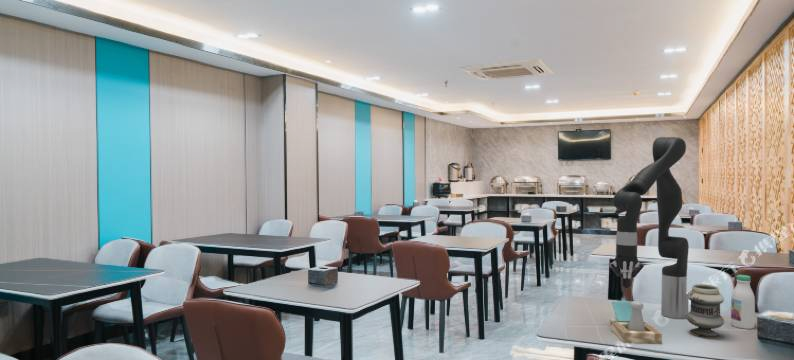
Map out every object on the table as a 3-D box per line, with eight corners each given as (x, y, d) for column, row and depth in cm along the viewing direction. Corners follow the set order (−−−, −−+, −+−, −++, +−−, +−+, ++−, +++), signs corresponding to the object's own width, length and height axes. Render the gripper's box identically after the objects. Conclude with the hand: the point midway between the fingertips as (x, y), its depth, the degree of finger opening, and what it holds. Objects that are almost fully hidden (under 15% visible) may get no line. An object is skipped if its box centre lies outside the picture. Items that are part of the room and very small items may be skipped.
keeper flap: (632, 303, 205) (633, 301, 204) (639, 323, 198) (639, 321, 198) (611, 302, 206) (612, 301, 205) (617, 322, 199) (618, 320, 198)
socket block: (638, 324, 206) (638, 316, 206) (661, 343, 184) (662, 333, 184) (604, 323, 207) (604, 315, 207) (623, 342, 185) (624, 332, 185)
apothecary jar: (684, 335, 193) (685, 287, 193) (688, 327, 203) (689, 281, 202) (722, 341, 186) (723, 291, 186) (724, 333, 196) (725, 285, 196)
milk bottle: (752, 324, 206) (753, 274, 206) (756, 330, 199) (757, 278, 199) (729, 322, 209) (730, 273, 209) (732, 327, 202) (733, 276, 202)
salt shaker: (646, 340, 187) (647, 304, 187) (629, 339, 189) (630, 303, 188) (642, 335, 193) (642, 300, 193) (626, 334, 194) (626, 299, 194)
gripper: (612, 244, 198) (611, 289, 199) (648, 245, 197) (647, 290, 198) (605, 241, 206) (605, 285, 206) (640, 242, 205) (639, 286, 205)
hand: (625, 287), depth 202 cm, fingers closed
